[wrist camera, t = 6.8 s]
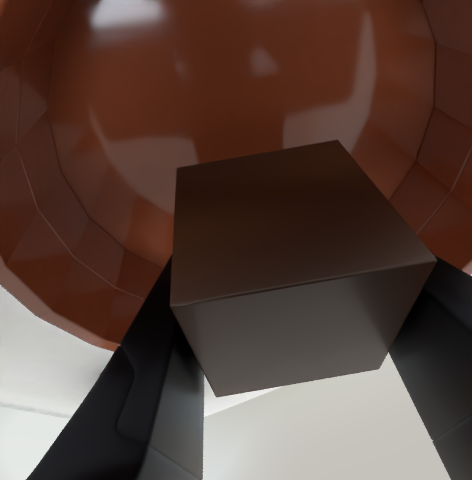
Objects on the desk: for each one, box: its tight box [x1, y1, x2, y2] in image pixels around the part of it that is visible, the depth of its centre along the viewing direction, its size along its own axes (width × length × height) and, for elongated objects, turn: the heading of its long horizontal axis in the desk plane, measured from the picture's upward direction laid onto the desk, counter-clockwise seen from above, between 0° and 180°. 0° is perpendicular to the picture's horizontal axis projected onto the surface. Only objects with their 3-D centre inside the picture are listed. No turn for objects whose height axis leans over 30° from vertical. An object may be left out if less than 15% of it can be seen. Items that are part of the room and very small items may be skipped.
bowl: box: [0, 0, 472, 352], centre depth 10 cm, size 15×15×5 cm
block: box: [170, 140, 437, 397], centre depth 8 cm, size 4×4×4 cm
